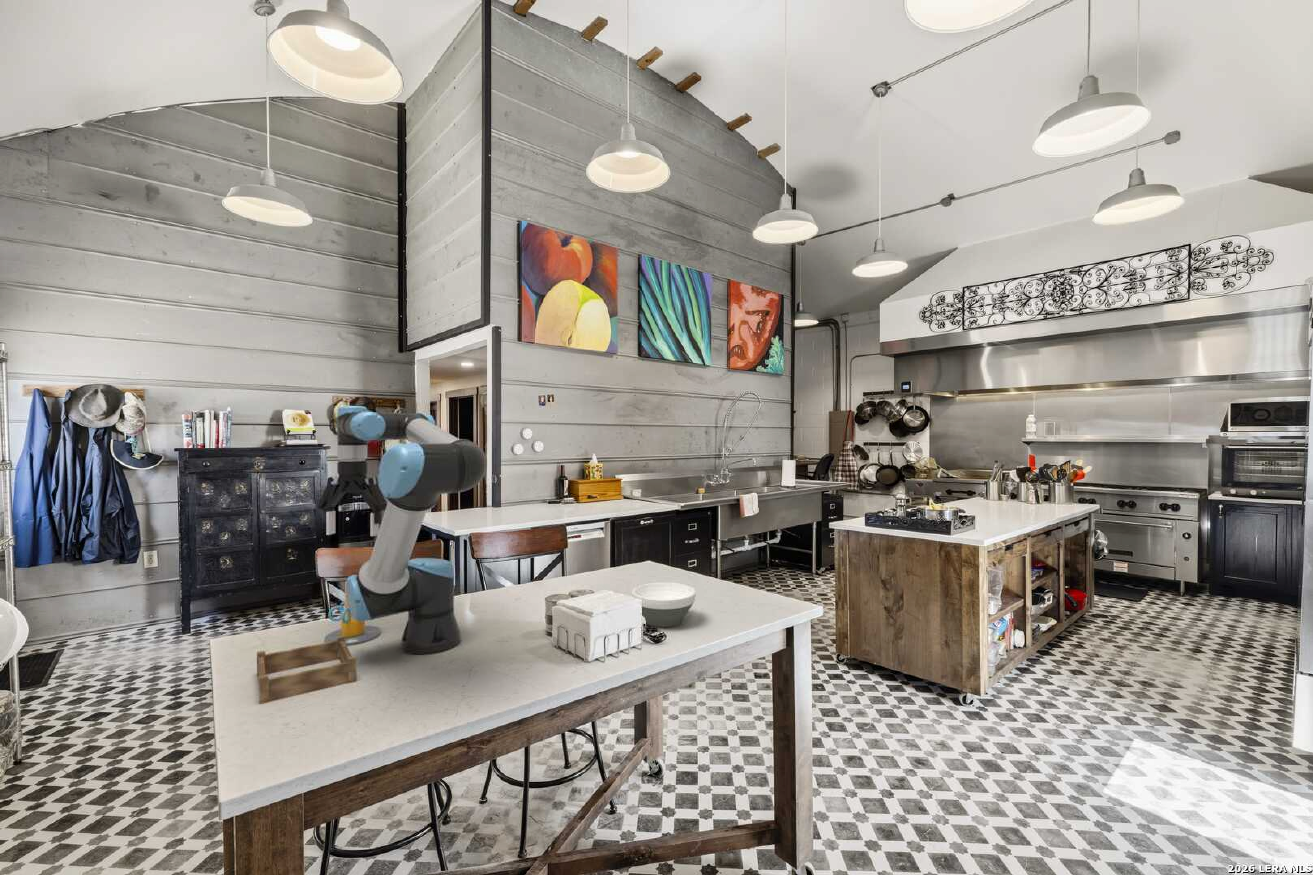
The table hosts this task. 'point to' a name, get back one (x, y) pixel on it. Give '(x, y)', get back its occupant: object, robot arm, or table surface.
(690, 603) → the bowl
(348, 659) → the crate
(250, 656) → the table surface
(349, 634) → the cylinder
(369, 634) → the trivet
